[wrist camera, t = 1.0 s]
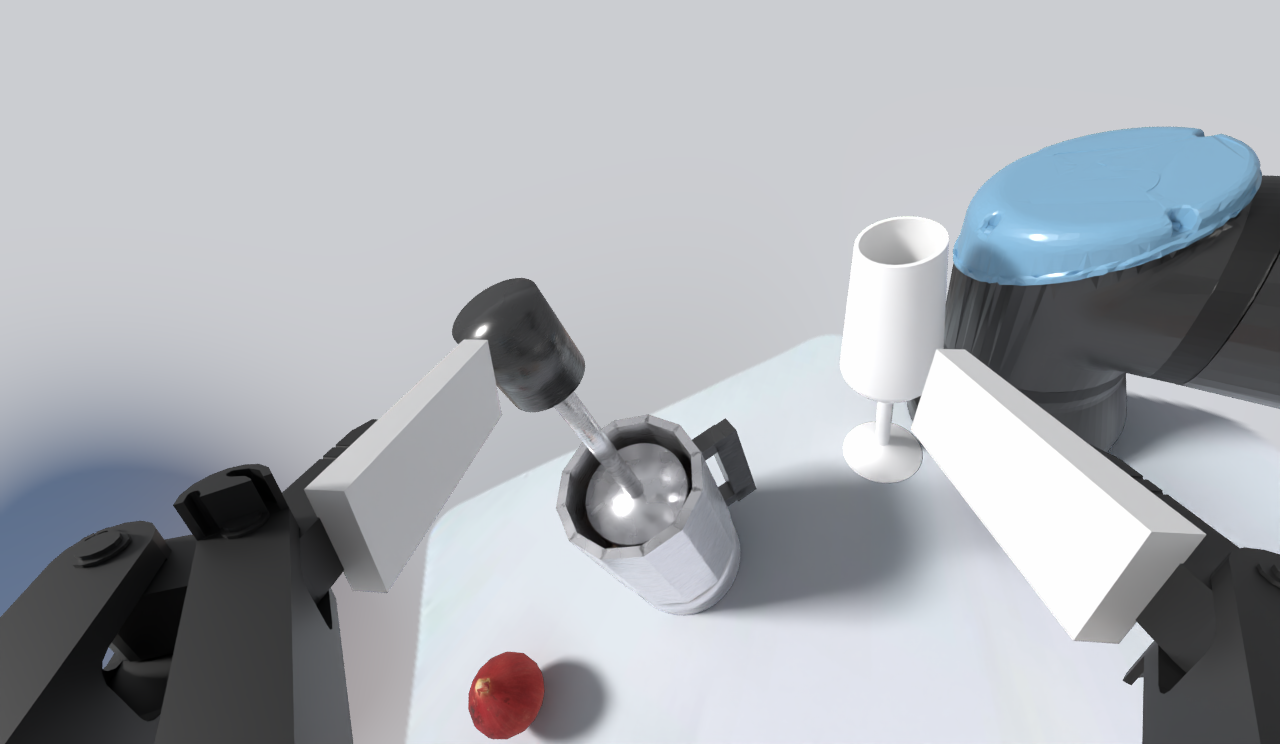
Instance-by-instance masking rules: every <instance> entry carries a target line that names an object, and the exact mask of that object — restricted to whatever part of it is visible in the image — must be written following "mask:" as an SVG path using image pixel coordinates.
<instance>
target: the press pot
mask: <svg viewBox="0 0 1280 744" xmlns="http://www.w3.org/2000/svg"><path fill="white" fill-rule="evenodd" d="M602 430H603V432H604V433H605V434H606V436H607V437H608V438H609V440H610V441H611V443H612V444H613V445H614V447H615V448H616V449H617V451H618V450H620V449H622V448H624V447H627V446H630V445H634V444H641V443H649V444H655V445H659V446H662V447H664V448H666V449H668V450H669V451H671V452H672V453H673V454H674V455H675V456H676V457H677V458H678V459H679V461H680V463H681V464H682V466H683V468H684V469H685V472H686V474H687V477H688V481H689V496H688V498H687V500H686V502H685V504H684V506H683V508H682V510H681V511H680V513H679V515H678V517H677V519H676V521H675V523H674V524H672V525H671V526H669V527H668V528H666V529H665V530H664V531H662V532H661V533H659V534H658V535H656V536H655V537H653V538H652V539H650V540H649V541H648V542H646V543H645V544H643V545H642V546H633V547H620V546H617V545H614V544H612V543H610V542H609V541H607V540H606V539H604V538H603V537H602V536H601V535H600V534H599V533H598V532H597V531H596V530H595V529H594V527H593V526H592V524H591V522H590V520H589V518H588V515H587V510H586V494H587V489H588V486H589V483H590V481H591V478H592V477H593V475H594V473H595V471H596V470H597V469H598V467H599V466H600V465H601V463H600V462H599V461H598V460H597V459H596V457H595V456H594V455H593V454H592V452H591V451H590V450H589V449H588V448H587V446H586V445H585V444H584V443H583V442H582V444H581V445H580V446H579V448H578V449H577V451H576V452H575V454H574V455H573V457H572V458H571V460H570V461H569V463H568V464H567V465H566V467H565V468H564V470H563V471H562V476H561V482H560V488H559V494H558V500H557V506H556V509H557V511H558V514H559V516H560V519H561V521H562V524H563V526H564V529H565V532H566V534H567V537H568V539H569V541H570V542H571V543H572V544H573V545H575V546H576V547H577V548H578V549H580V550H581V551H582V552H583V553H585V554H586V555H587V556H588V557H590V558H591V559H592V560H593V561H595V562H596V563H597V564H598V565H599V566H601V567H602V568H603V569H604V570H606V571H607V572H608V573H609V574H611V575H612V576H613V577H614V578H616V579H617V580H618V581H619V582H620V583H622V584H623V585H624V586H625V587H627V588H629V589H630V590H632V591H634V592H635V593H637V594H638V595H639V596H640V597H642V598H643V599H644V600H645V601H647V602H648V603H649V604H650V605H652V606H653V607H655V608H656V609H658V610H660V611H663V612H665V613H668V614H673V615H691V614H695V613H699V612H702V611H704V610H706V609H708V608H710V607H711V606H713V605H715V604H716V603H717V602H718V601H719V600H721V599H722V598H723V597H724V595H725V594H726V593H727V592H728V590H729V589H730V588H731V586H732V584H733V582H734V580H735V578H736V575H737V573H738V569H739V565H740V556H741V551H740V542H739V538H738V534H737V531H736V529H735V527H734V525H733V523H732V521H731V514H730V512H729V510H728V508H727V507H728V506H729V505H730V504H732V503H733V502H735V501H736V500H738V501H740V500H741V499H743V498H744V497H745V496H747V495H748V494H750V493H751V492H753V491H754V490H756V486H755V484H754V481H753V478H752V475H751V472H750V469H749V466H748V463H747V460H746V457H745V455H744V452H743V449H742V446H741V443H740V440H739V437H738V434H737V431H736V429H735V428H734V427H733V426H732V425H731V424H730V423H729V422H728V421H727V419H726V418H725V419H724V420H722V421H721V422H719V423H718V424H716V425H714V426H712V427H711V428H709V429H708V430H706V431H705V432H703V433H702V434H700V435H699V436H697V437H696V438H694V439H693V440H691V439H690V437H689V436H688V435H687V433H686V432H685V431H684V430H683V428H682V427H681V426H680V425H678V424H675V423H672V422H669V421H666V420H663V419H660V418H657V417H654V416H651V415H643V416H638V417H632V418H626V419H620V420H614V421H613V422H611V423H610V424H608V425H607V426H605V427H604V428H602ZM713 455H714V456H715V458H716V461H717V463H718V465H719V467H720V470H721V472H722V474H723V476H724V479H725V481H726V482H725V483H724V484H722V485H721V486H720V487H717V485H716V482H715V480H714V478H713V476H712V474H711V472H710V470H709V468H708V466H707V464H706V462H705V460H707V459H708V458H710V457H711V456H713Z"/></svg>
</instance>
